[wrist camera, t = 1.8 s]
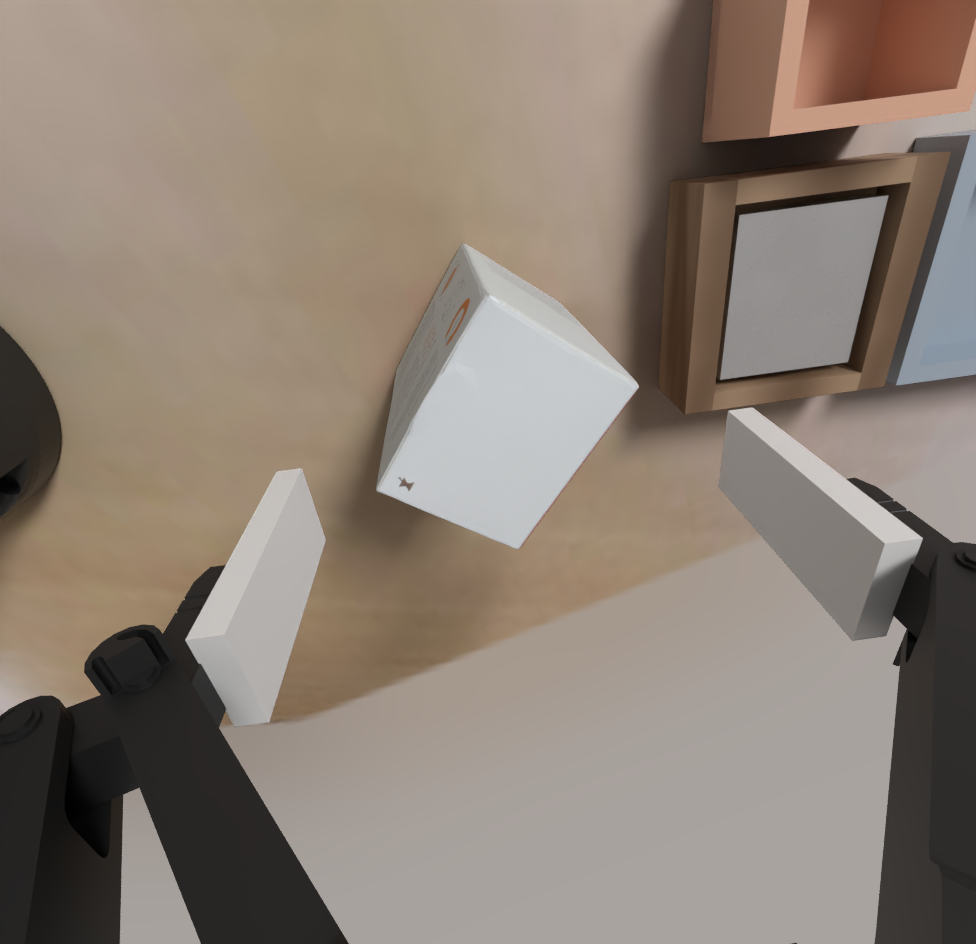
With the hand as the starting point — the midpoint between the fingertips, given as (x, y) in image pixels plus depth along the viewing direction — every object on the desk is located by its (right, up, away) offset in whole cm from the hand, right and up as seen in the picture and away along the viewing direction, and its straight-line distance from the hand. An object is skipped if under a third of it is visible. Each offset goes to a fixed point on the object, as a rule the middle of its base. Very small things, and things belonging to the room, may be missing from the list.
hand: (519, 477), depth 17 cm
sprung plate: (+14, +10, +11) cm, 20 cm away
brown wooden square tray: (+14, +11, +13) cm, 22 cm away
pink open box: (+13, +20, +7) cm, 25 cm away
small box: (-2, +8, +13) cm, 15 cm away
